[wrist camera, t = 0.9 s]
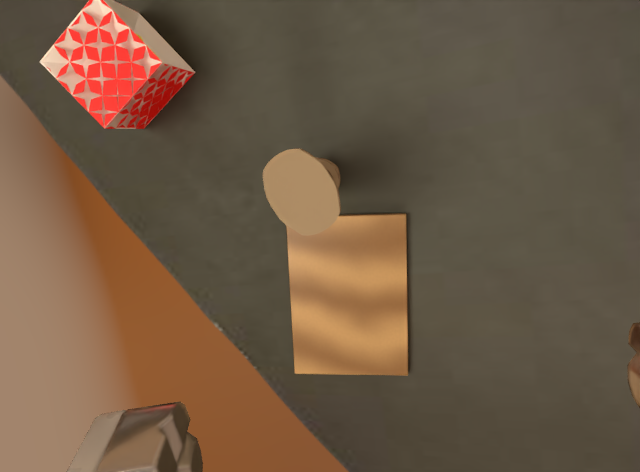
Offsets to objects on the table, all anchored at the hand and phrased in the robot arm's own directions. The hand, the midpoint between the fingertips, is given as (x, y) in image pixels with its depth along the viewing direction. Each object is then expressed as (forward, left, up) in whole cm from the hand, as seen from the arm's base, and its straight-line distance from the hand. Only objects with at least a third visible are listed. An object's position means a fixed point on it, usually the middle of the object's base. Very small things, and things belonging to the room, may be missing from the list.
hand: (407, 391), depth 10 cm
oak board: (+12, -4, -44) cm, 45 cm away
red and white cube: (-11, -24, -44) cm, 51 cm away
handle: (0, -6, -44) cm, 44 cm away
